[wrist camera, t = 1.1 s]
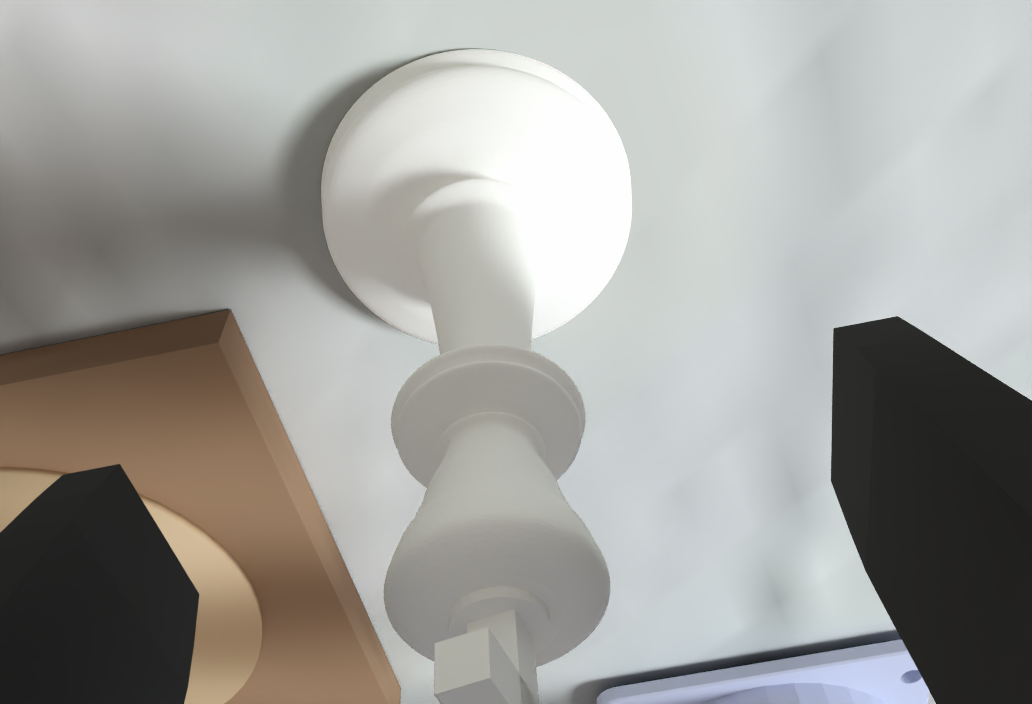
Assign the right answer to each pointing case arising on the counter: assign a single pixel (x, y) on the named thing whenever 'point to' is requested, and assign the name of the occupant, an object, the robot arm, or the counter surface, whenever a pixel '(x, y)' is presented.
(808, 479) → the counter surface
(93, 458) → the pedestal
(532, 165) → the chess piece
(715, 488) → the counter surface
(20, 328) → the counter surface
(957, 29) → the counter surface
